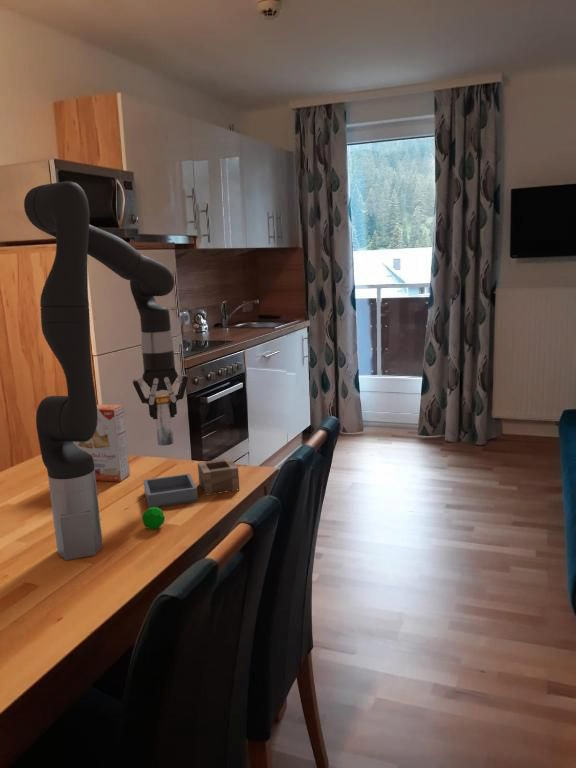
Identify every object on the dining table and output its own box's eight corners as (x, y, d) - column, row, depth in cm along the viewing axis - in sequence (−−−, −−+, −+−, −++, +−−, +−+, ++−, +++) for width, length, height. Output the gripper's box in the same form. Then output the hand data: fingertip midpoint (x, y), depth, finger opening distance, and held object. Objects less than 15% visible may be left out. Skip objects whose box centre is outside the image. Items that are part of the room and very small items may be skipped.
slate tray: (197, 501, 161) (196, 488, 160) (149, 508, 157) (147, 495, 156) (190, 485, 172) (189, 473, 171) (144, 492, 168) (143, 479, 168)
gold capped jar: (174, 444, 160) (170, 397, 158) (158, 446, 159) (154, 399, 157) (172, 440, 164) (168, 394, 162) (156, 442, 163) (152, 396, 161)
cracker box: (75, 480, 180) (66, 408, 176) (86, 473, 186) (78, 403, 182) (120, 482, 177) (113, 408, 173) (130, 475, 183) (123, 403, 179)
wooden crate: (239, 490, 167) (238, 468, 166) (205, 495, 165) (203, 472, 163) (232, 479, 176) (230, 458, 174) (199, 483, 173) (197, 462, 172)
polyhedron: (141, 526, 147) (139, 506, 146) (162, 522, 149) (161, 502, 148) (145, 534, 143) (143, 514, 142) (167, 530, 144) (165, 510, 144)
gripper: (129, 354, 151) (135, 424, 155) (189, 348, 155) (194, 417, 159) (127, 350, 158) (133, 417, 162) (184, 345, 162) (189, 411, 166)
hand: (163, 417), depth 160 cm, fingers closed on gold capped jar, 4 cm apart
